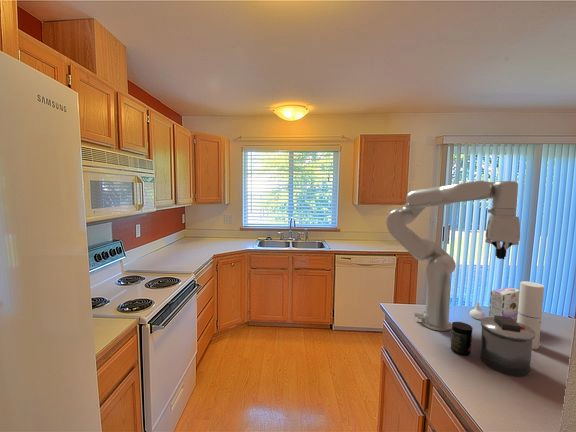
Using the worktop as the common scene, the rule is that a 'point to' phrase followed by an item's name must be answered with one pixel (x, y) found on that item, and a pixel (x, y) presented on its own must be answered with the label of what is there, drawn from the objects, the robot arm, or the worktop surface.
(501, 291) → the candy box
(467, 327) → the supplement container
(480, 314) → the garlic bulb
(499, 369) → the dark grey rounded block
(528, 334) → the round plate
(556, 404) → the worktop surface
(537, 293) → the cylindrical container
